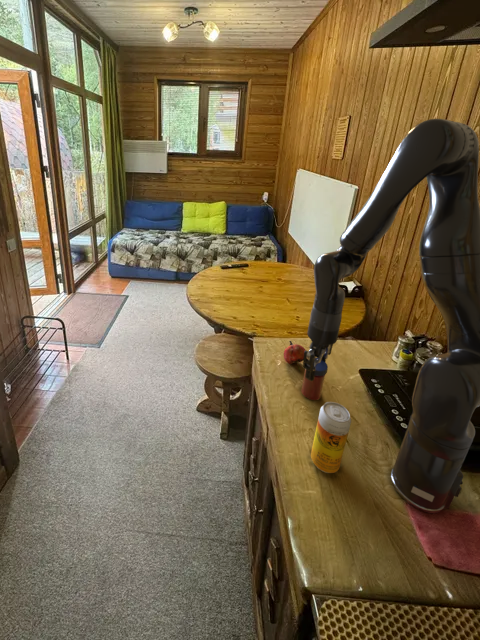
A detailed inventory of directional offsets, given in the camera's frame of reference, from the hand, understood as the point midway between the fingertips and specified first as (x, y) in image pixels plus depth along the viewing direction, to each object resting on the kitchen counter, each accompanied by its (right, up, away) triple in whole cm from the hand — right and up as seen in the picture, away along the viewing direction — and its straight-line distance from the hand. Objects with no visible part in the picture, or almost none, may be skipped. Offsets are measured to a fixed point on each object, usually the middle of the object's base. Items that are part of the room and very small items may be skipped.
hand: (314, 373), depth 88 cm
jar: (0, -7, +2) cm, 7 cm away
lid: (0, +3, -1) cm, 3 cm away
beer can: (-5, -14, -18) cm, 23 cm away
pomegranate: (-1, -2, +14) cm, 15 cm away
